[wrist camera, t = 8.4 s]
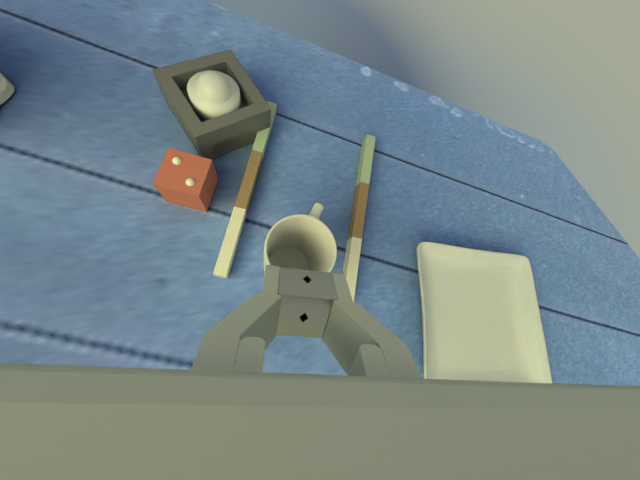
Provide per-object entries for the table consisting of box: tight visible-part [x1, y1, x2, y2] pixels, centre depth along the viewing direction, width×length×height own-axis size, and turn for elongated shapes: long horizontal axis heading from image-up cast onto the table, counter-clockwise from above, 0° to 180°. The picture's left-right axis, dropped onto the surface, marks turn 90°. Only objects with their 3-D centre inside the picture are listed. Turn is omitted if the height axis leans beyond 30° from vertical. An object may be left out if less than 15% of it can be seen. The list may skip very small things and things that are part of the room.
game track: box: [213, 101, 376, 302], centre depth 36 cm, size 27×18×2 cm, turn 170°
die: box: [153, 147, 218, 212], centre depth 31 cm, size 5×5×5 cm
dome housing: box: [152, 50, 271, 160], centre depth 35 cm, size 11×11×6 cm
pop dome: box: [187, 70, 241, 121], centre depth 32 cm, size 6×6×4 cm
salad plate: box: [416, 242, 552, 383], centre depth 37 cm, size 21×21×3 cm
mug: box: [264, 203, 337, 273], centre depth 29 cm, size 10×7×12 cm, turn 158°
